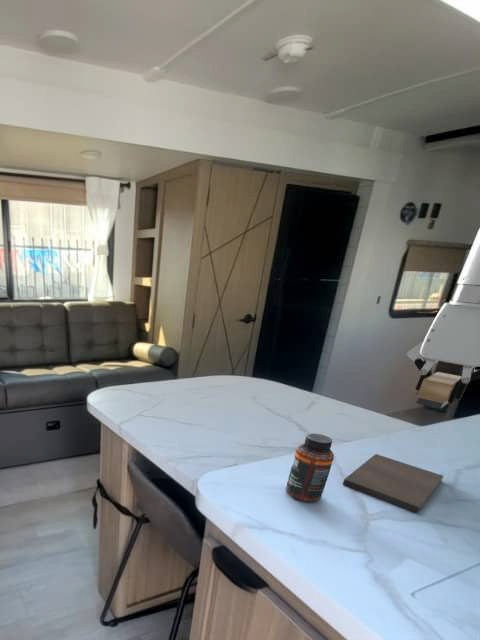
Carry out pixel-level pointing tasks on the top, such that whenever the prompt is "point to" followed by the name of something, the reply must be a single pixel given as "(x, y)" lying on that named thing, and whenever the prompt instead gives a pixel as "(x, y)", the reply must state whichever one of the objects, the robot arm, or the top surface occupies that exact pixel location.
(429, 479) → the board
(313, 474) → the supplement bottle
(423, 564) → the top surface
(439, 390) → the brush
